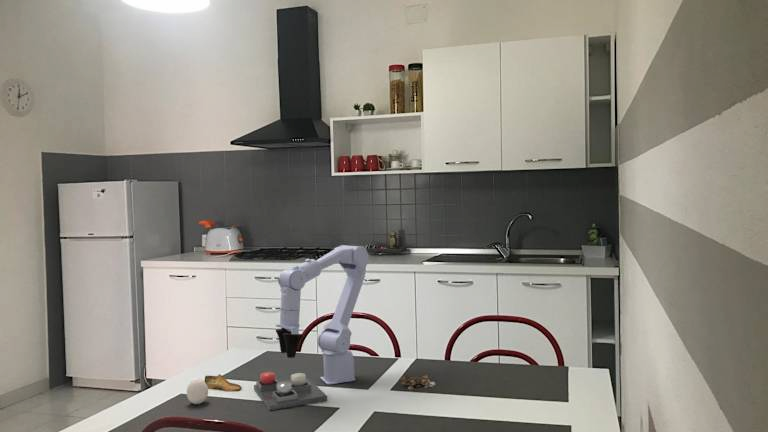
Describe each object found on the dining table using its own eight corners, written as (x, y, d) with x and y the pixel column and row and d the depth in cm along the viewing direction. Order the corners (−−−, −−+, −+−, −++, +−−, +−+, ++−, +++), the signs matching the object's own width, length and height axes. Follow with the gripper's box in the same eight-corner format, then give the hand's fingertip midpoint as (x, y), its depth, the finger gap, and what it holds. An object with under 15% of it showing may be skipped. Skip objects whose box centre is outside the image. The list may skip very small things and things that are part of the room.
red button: (273, 379, 203) (273, 371, 203) (276, 382, 199) (276, 374, 199) (259, 381, 201) (259, 373, 201) (262, 385, 197) (262, 377, 197)
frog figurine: (408, 394, 195) (408, 381, 194) (392, 383, 206) (391, 371, 205) (442, 388, 199) (442, 376, 199) (424, 378, 210) (424, 366, 210)
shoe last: (237, 393, 201) (236, 378, 201) (201, 388, 207) (201, 373, 207) (245, 389, 205) (245, 374, 205) (210, 384, 211) (210, 370, 211)
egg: (209, 399, 196) (208, 374, 195) (207, 406, 190) (206, 380, 189) (188, 401, 195) (187, 376, 194) (186, 408, 189) (184, 382, 188)
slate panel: (306, 381, 210) (306, 372, 210) (327, 400, 190) (326, 390, 190) (254, 389, 203) (253, 380, 203) (269, 410, 184) (269, 400, 184)
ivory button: (303, 380, 201) (303, 372, 200) (307, 384, 197) (307, 376, 196) (289, 382, 199) (289, 374, 199) (293, 386, 195) (293, 378, 195)
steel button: (290, 389, 192) (289, 381, 192) (294, 393, 188) (293, 385, 188) (275, 391, 191) (274, 383, 190) (279, 396, 187) (278, 387, 186)
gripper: (271, 306, 202) (269, 351, 201) (283, 312, 188) (280, 359, 188) (293, 306, 204) (291, 350, 204) (306, 312, 191) (304, 359, 191)
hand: (287, 355), depth 196 cm, fingers open, 7 cm apart
